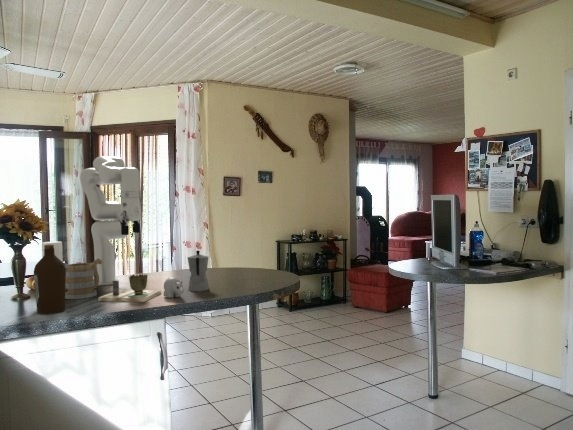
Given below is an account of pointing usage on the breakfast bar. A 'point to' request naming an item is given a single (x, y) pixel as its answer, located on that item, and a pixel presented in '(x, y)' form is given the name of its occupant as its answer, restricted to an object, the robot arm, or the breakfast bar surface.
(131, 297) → the board
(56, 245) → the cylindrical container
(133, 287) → the cup
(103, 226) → the robot arm
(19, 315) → the breakfast bar surface
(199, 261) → the coffeepot
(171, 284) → the chubby cartoon animal
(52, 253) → the olive oil
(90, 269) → the tankard
